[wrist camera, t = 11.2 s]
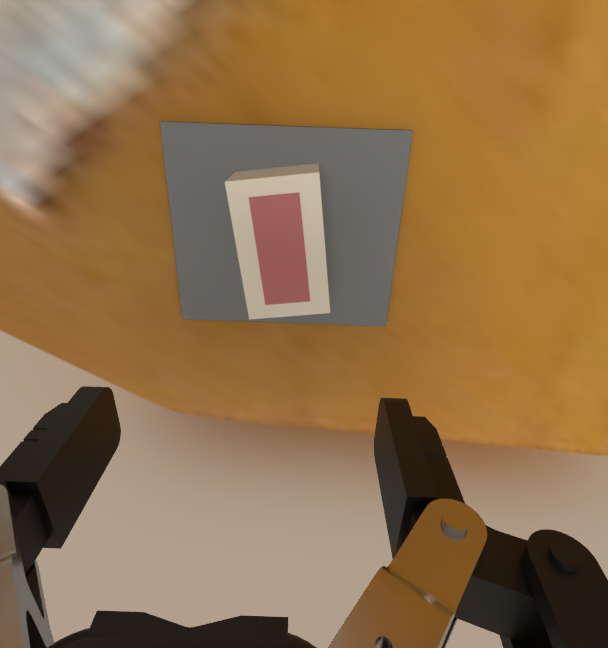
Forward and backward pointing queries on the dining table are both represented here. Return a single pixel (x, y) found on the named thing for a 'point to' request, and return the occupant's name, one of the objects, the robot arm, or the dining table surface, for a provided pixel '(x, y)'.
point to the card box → (280, 240)
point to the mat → (337, 207)
